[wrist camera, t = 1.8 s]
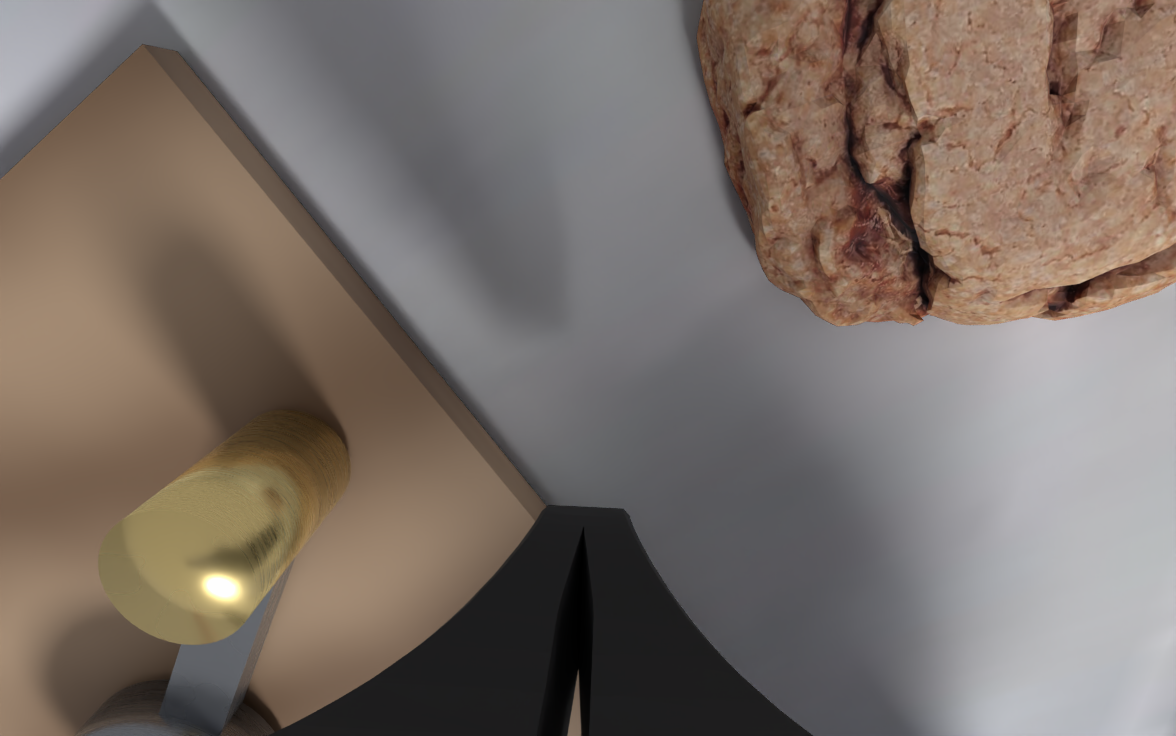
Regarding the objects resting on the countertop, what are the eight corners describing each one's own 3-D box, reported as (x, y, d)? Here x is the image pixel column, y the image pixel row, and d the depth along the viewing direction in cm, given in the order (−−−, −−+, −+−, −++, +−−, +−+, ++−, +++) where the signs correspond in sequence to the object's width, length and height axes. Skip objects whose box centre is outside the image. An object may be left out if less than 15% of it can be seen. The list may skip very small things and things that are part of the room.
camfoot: (259, 860, 18) (163, 1053, 14) (71, 794, 17) (-80, 975, 14) (425, 463, 14) (356, 581, 10) (191, 364, 14) (27, 450, 10)
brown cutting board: (813, 834, 19) (826, 879, 18) (242, 1092, 23) (222, 1141, 22) (141, 7, 13) (95, -6, 12) (-442, 572, 18) (-515, 602, 16)
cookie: (1139, 360, 15) (1266, 413, 12) (645, 284, 14) (653, 320, 12) (1378, -202, 11) (1631, -316, 9) (750, -305, 11) (795, -454, 8)
